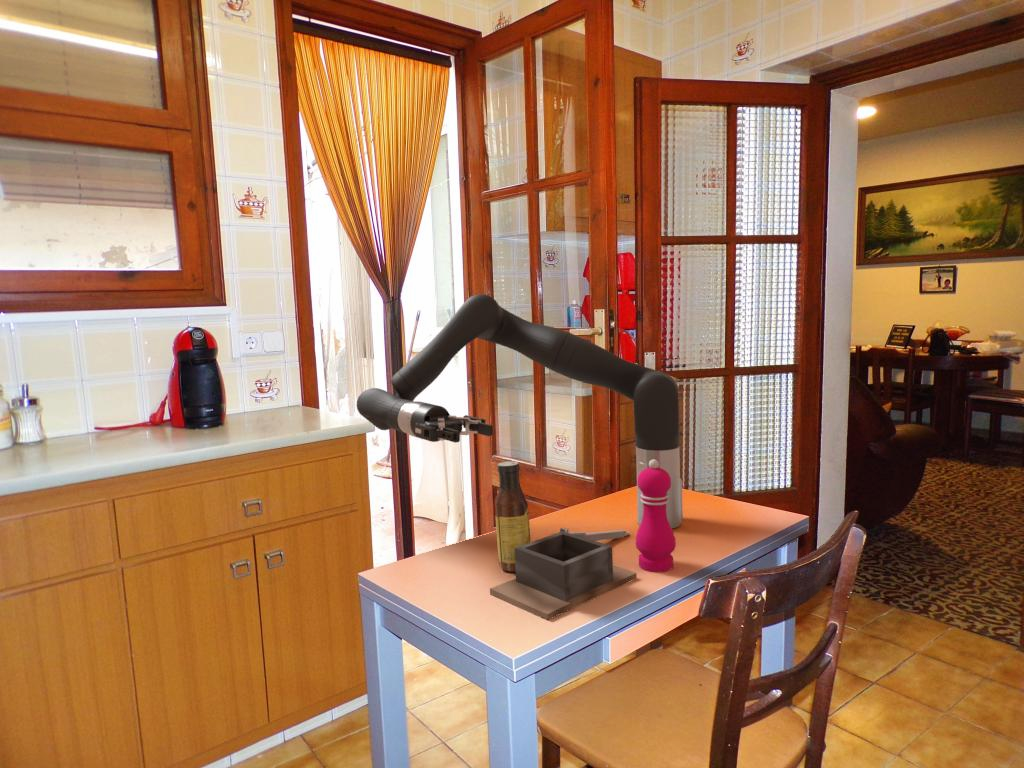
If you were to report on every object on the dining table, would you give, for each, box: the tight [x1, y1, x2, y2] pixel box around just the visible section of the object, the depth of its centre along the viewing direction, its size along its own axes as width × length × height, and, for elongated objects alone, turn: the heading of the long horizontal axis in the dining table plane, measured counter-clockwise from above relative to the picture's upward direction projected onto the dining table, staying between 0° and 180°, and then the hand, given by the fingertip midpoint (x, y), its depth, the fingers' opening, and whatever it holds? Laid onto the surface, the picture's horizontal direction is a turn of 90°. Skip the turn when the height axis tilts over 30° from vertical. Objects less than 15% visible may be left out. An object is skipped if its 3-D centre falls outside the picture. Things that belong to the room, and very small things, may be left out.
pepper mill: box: [635, 459, 677, 573], centre depth 123 cm, size 7×7×20 cm
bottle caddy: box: [489, 531, 638, 620], centre depth 117 cm, size 22×14×7 cm, turn 131°
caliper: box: [559, 527, 631, 542], centre depth 135 cm, size 20×1×6 cm, turn 130°
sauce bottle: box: [494, 460, 532, 573], centre depth 126 cm, size 7×6×20 cm
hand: (475, 433), depth 130 cm, fingers open, 8 cm apart
